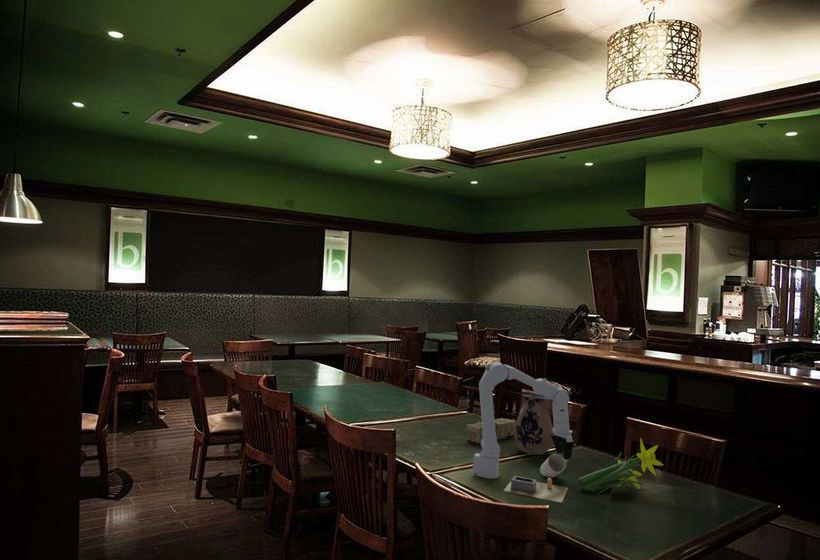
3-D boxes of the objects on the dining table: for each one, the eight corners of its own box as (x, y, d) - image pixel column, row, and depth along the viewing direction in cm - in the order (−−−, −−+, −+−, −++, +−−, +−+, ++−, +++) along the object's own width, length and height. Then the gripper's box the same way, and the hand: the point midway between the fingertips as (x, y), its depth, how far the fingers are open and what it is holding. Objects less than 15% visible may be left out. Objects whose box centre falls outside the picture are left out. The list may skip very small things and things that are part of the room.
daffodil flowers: (563, 486, 210) (634, 456, 222) (588, 519, 199) (661, 485, 211) (571, 457, 200) (645, 428, 212) (598, 491, 189) (674, 457, 202)
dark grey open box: (510, 489, 196) (511, 479, 196) (513, 485, 201) (514, 475, 201) (533, 494, 193) (534, 484, 193) (536, 489, 197) (536, 479, 197)
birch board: (503, 494, 194) (503, 490, 195) (513, 481, 209) (513, 477, 209) (561, 507, 186) (561, 502, 186) (568, 492, 201) (568, 487, 201)
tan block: (502, 434, 282) (464, 441, 262) (503, 417, 282) (466, 423, 262) (515, 438, 276) (477, 445, 256) (516, 421, 276) (479, 426, 256)
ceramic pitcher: (508, 453, 246) (511, 396, 246) (521, 442, 264) (524, 390, 264) (547, 460, 237) (550, 402, 238) (558, 449, 256) (561, 395, 256)
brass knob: (546, 489, 199) (546, 478, 199) (547, 487, 200) (547, 477, 200) (551, 490, 198) (551, 479, 198) (552, 488, 199) (552, 478, 199)
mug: (544, 482, 213) (553, 475, 203) (536, 466, 216) (544, 457, 206) (566, 472, 216) (576, 464, 206) (557, 456, 219) (567, 447, 209)
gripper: (579, 423, 203) (581, 460, 203) (563, 415, 218) (565, 449, 218) (560, 425, 203) (563, 462, 202) (546, 416, 217) (548, 451, 217)
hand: (563, 456), depth 210 cm, fingers open, 7 cm apart
